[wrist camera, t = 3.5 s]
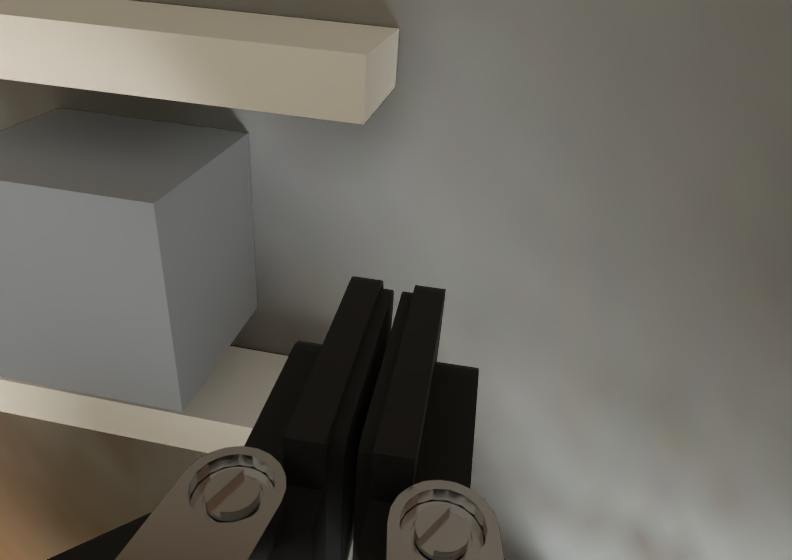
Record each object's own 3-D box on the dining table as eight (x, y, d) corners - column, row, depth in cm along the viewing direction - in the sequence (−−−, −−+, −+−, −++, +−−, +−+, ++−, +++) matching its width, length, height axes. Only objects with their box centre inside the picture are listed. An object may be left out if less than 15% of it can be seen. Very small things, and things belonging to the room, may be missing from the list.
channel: (399, 28, 13) (366, 54, 11) (373, 404, 18) (348, 481, 16) (-248, -40, 15) (-405, -31, 13) (-103, 316, 21) (-194, 372, 18)
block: (250, 131, 15) (153, 203, 11) (258, 305, 18) (182, 411, 14) (60, 106, 16) (-92, 167, 12) (95, 277, 18) (-20, 372, 14)
